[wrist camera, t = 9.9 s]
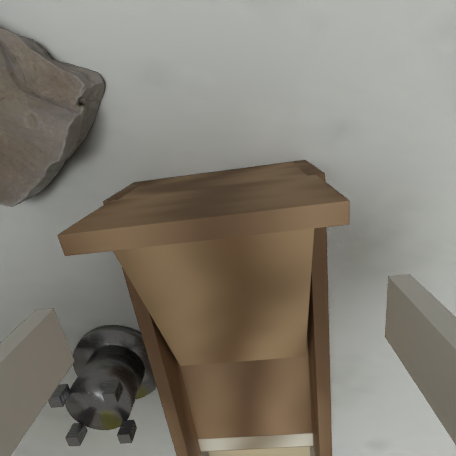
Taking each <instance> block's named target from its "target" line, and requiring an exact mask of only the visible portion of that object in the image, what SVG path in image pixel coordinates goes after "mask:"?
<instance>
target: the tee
mask: <svg viewBox="0 0 456 456" xmlns="http://www.w3.org/2000/svg"><path fill="white" fill-rule="evenodd" d="M73 358H74V363H73V367H74V370H75V372H76V374H77V376H78V377H77V379H76V380H75V382H74V383H73V385H72V387H71V388H69V386H68V384H61V385H58V386H57V388H56V389H55V391H54V392H53V394H52V395H51V397H50V398H49V400H48V402H49V404H50V406H51V408H52V407H63V406H64V404H65V405H66V408H67V410H68V412H69V414H70V415H71V416H72V417H73V418H74V419H75V420H76V421H78V422H79V423H75V424H73V425H72V427H71V429H70V430H69V432H68V434H67V436H66V440H67V443H68V445H69V446H80V445H81V443H82V441H83V439H84V437H85V435H86V433H87V428H86V426H87V427H90V428H93V429H98V430H110V429H114V428H117V427H120V429H119V432H118V434H117V436H118V439H119V441H120V443H132V441H133V438H134V435H135V432H136V429H137V427H136V424H135V421H134V420H127V419H128V418H129V415H130V412H131V410H132V407H133V404H134V402H135V399H139V398H141V397H144V396H146V395H148V394H149V393H151V392H152V391H153V390H154V389H155V388H156V387H157V386H156V382H155V379H154V376H153V372H152V369H151V365H150V362H149V358H148V355H147V351H146V348H145V345H144V341H143V338H142V334H141V333H140V332H138V331H136V330H133V329H130V328H127V327H122V326H103V327H99V328H96V329H94V330H92V331H90V332H88V333H87V334H86V335H85V336H84V337H83V338H82V339H81V340H80V342H79V343H78V345H77V346H76V348H75V350H74V353H73Z"/></svg>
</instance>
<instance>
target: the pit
mask: <svg viewBox="0 0 456 456" xmlns="http://www.w3.org/2000/svg"><path fill="white" fill-rule="evenodd" d="M201 456H315V452H314V447H313V446H308V447H288V448H268V449H248V450H228V451H207V452H201Z"/></svg>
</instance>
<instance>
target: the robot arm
mask: <svg viewBox="0 0 456 456" xmlns="http://www.w3.org/2000/svg"><path fill="white" fill-rule="evenodd" d="M385 337H386V339H387V340H388V342H389V343H390V345H391V347H392V348H393V350H394V351H395V353H396V354H397V356H398V357H399V359H400V360H401V362H402V363H403V365H404V366H405V368H406V369H407V371H408V373H409V374H410V376H411V377H412V379H413V380H414V382H415V383H416V385H417V386H418V388H419V389H420V391H421V392H422V394H423V395H424V397H425V399H426V400H427V402H428V403H429V405H430V406H431V408H432V409H433V411H434V412H435V414H436V415H437V417H438V418H439V420H440V421H441V423H442V425H443V426H444V428H445V429H446V431H447V432H448V434H449V435H450V437H451V438H452V440H453V441H454V443H455V444H456V317H455V316H454V315H453V314H452V313H451V312H450V311H449V310H448V309H447V308H446V307H444V306H443V305H442V304H441V303H440V302H439V301H438V300H437V299H436V298H435V297H434V296H433V295H432V294H431V293H430V292H428V291H427V290H426V289H425V288H424V287H423V286H422V285H421V284H420V283H419V282H418V281H417V280H416V279H415V278H413V277H412V276H411V275H410V274H407V275H396V276H388V290H387V309H386V327H385ZM73 363H74V358H73V356H72V353H71V351H70V348H69V346H68V343H67V341H66V338H65V336H64V333H63V331H62V328H61V326H60V323H59V321H58V318H57V316H56V313H55V311H54V308H52V309H42V310H35V311H34V312H33V313H32V314H31V315H30V316H29V317H28V318H27V319H26V320H25V321H24V322H23V323H22V324H21V325H19V326H18V327H17V328H16V329H15V330H14V331H13V332H12V333H11V334H10V335H9V336H8V337H7V338H6V339H5V340H4V341H3V342H1V343H0V456H11V454H12V453H13V451H14V450H15V448H16V447H17V445H18V444H19V442H20V441H21V439H22V438H23V436H24V435H25V433H26V432H27V430H28V429H29V428H30V426H31V425H32V423H33V422H34V420H35V419H36V417H37V416H38V414H39V413H40V411H41V410H42V408H43V407H44V405H45V404H46V403H47V401H48V400H49V398H50V397H51V395H52V394H53V392H54V391H55V389H56V388H57V386H58V385H59V383H60V382H61V380H62V379H63V378H64V376H65V375H66V373H67V372H68V370H69V369H70V367H71V366H72V364H73Z"/></svg>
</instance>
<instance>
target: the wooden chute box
mask: <svg viewBox="0 0 456 456" xmlns="http://www.w3.org/2000/svg"><path fill="white" fill-rule="evenodd" d="M103 203H104V205H103V206H102V207H100V208H99V209H97V210H95V211H94V212H92V213H91V214H89V215H88V216H86V217H85V218H83V219H82V220H80V221H78V222H77V223H75V224H74V225H72V226H71V227H69V228H68V229H66V230H65V231H63V232H61V233H60V234H58V238H59V241H60V244H61V247H62V249H63V252H64V255H65V256H70V255H79V254H88V253H97V252H106V251H113V252H114V253H115V255H116V257H117V259H118V260H119V262H120V264H121V265H122V269H123V272H124V276H125V279H126V283H127V286H128V289H129V293H130V296H131V300H132V303H133V307H134V310H135V314H136V317H137V320H138V324H139V327H140V331H141V334H142V338H143V341H144V345H145V348H146V351H147V355H148V358H149V362H150V365H151V369H152V372H153V376H154V379H155V382H156V386H157V389H158V393H159V396H160V400H161V403H162V407H163V410H164V413H165V417H166V420H167V424H168V427H169V431H170V434H171V438H172V441H173V444H174V448H175V451H176V455H177V456H201V452H207V451H228V450H248V449H268V448H288V447H308V446H313V447H314V452H315V456H332V433H331V393H330V353H329V314H328V274H327V234H326V227H330V226H339V225H348V224H349V213H350V201H349V200H348V199H347V198H345V197H344V196H343V195H342V194H340V193H339V192H338V191H336V190H335V189H334V188H333V187H331V186H330V185H329V184H327V183H326V182H325V173H324V172H322V171H321V170H319V169H318V168H316V167H315V166H313V165H312V164H310V163H309V162H307V161H306V160H301V161H294V162H286V163H278V164H271V165H263V166H255V167H248V168H240V169H232V170H225V171H217V172H210V173H202V174H194V175H187V176H179V177H171V178H164V179H156V180H149V181H141V182H134V183H132V184H131V185H129V186H127V187H126V188H124V189H123V190H121V191H119V192H118V193H116V194H114V195H113V196H111V197H110V198H108V199H106V200H105V201H103Z"/></svg>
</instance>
